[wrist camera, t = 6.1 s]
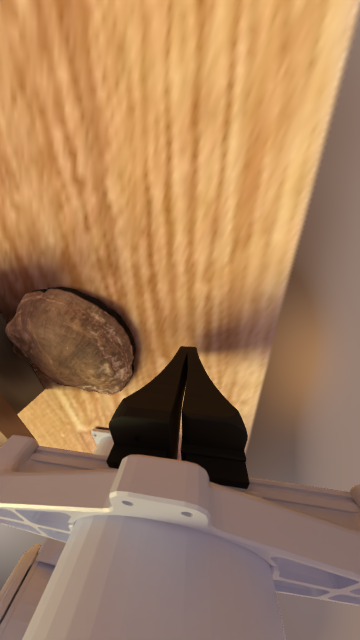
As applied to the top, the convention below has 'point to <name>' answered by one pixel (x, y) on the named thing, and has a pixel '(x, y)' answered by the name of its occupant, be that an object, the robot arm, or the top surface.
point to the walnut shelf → (14, 388)
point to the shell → (73, 339)
